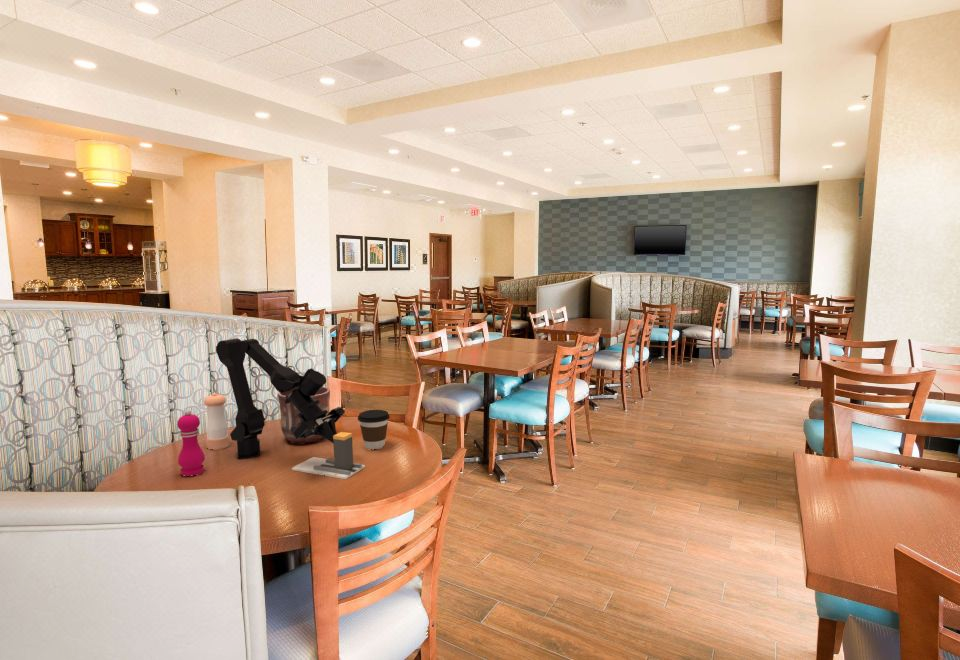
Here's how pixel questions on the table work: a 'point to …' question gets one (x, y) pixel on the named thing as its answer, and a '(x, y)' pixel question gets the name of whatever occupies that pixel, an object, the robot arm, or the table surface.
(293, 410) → the pottery
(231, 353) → the robot arm
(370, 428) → the coffee cup
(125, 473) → the table surface
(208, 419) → the pepper shaker
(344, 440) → the fader knob
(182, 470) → the pepper mill
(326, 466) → the plate
